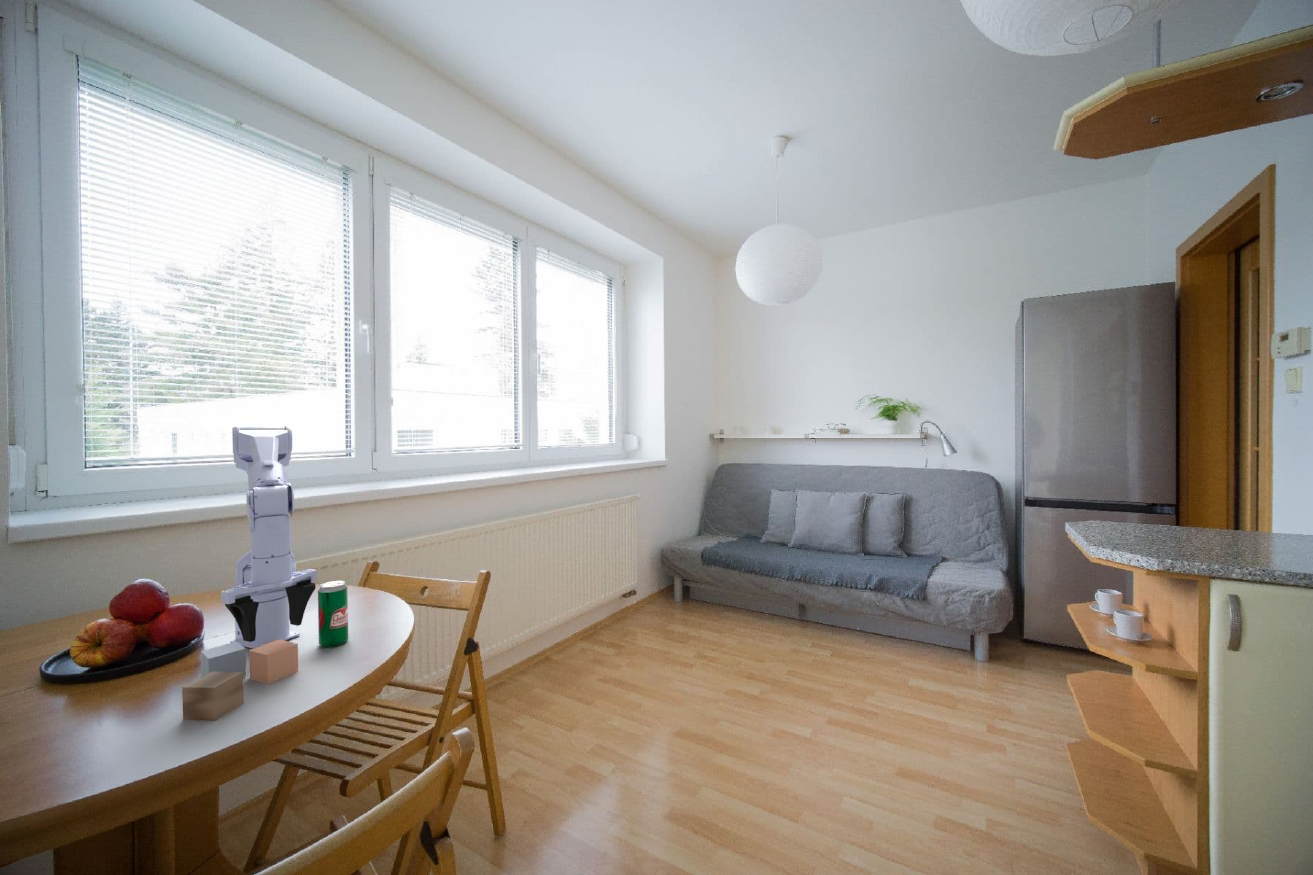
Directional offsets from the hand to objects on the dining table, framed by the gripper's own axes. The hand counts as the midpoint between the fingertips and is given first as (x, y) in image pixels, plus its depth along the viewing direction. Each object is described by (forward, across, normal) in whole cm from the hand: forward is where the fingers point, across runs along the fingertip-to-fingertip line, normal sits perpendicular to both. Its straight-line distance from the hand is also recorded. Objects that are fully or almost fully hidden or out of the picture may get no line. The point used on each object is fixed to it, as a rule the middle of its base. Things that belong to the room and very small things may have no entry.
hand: (273, 632), depth 91 cm
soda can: (+8, +13, +3) cm, 15 cm away
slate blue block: (+8, -4, +7) cm, 11 cm away
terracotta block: (+8, 0, 0) cm, 8 cm away
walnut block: (+8, -11, -4) cm, 14 cm away
